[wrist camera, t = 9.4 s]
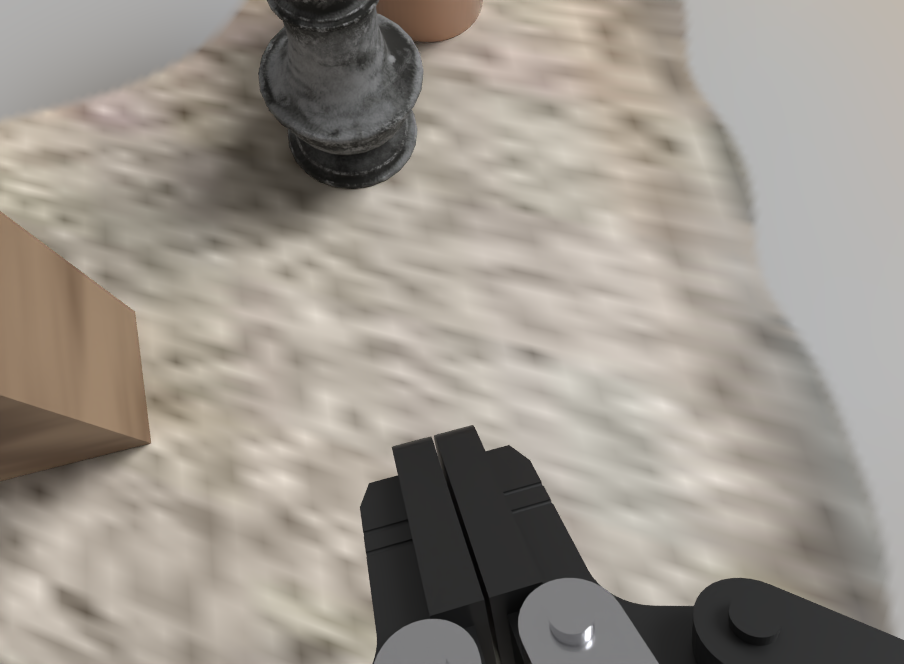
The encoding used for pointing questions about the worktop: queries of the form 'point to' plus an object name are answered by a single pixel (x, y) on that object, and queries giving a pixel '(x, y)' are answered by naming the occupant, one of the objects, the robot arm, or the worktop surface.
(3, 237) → the walnut block
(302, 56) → the dark grey turned piece
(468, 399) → the worktop surface
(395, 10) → the terracotta canister
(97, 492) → the worktop surface
